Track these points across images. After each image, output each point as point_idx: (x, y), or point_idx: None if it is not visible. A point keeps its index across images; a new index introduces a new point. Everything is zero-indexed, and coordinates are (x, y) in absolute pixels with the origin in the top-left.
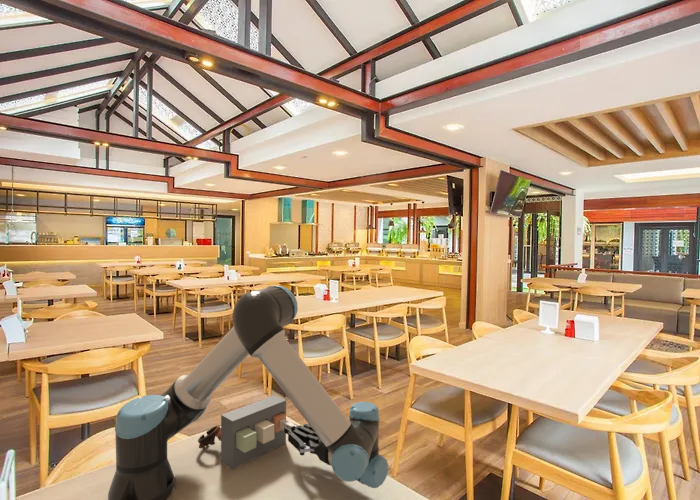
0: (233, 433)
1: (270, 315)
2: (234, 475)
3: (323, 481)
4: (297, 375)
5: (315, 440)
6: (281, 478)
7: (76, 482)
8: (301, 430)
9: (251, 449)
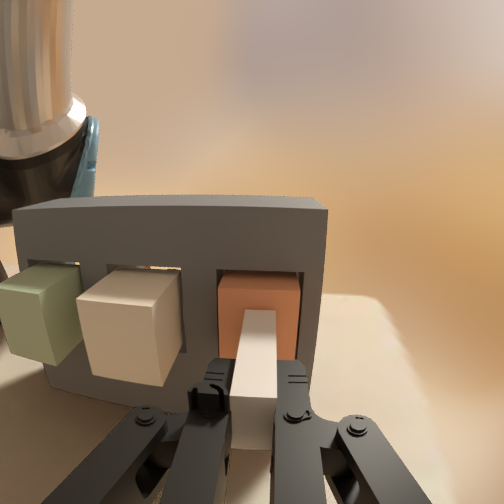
0: (21, 263)
1: None
2: (24, 403)
3: None
4: None
5: None
6: None
7: (5, 268)
8: (273, 462)
9: (35, 360)
